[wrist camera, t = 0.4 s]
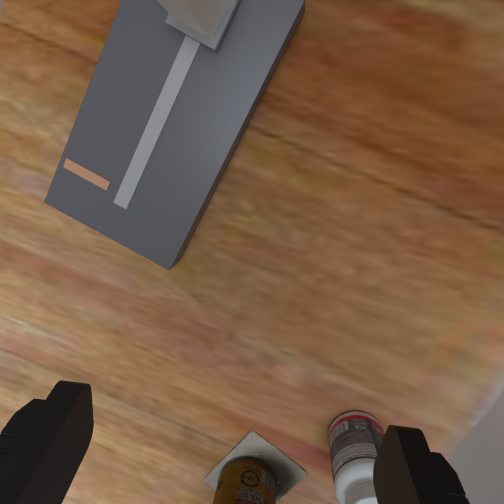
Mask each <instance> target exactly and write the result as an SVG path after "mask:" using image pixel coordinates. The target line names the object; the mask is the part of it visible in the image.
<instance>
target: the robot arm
mask: <svg viewBox="0 0 504 504" xmlns="http://www.w3.org/2000/svg"><path fill="white" fill-rule="evenodd" d="M93 426H94V422H93V407H92V392H91V386H90V384H85V383H78V382H70V381H63V380H61V381H59V382H58V383H57V384H56V385H55V387H54V388H53V390H52V391H51V393H50V394H49V396H48V397H47V399H46V400H42V399H33V400H32V401H30V402H29V403H28V404H26V405H25V406H24V407H22V408H21V409H20V410H18V411H17V412H16V413H15V414H14V415H13V416H12V418H11V419H10V420H9V422H8V423H7V425H6V426H5V427H4V429H3V430H2V431H1V435H0V504H62V502H63V499H64V497H65V495H66V493H67V491H68V489H69V487H70V485H71V483H72V481H73V478H74V476H75V474H76V472H77V470H78V468H79V466H80V464H81V462H82V460H83V458H84V455H85V453H86V451H87V449H88V447H89V444H90V441H91V438H92V433H93ZM373 483H374V489H375V494H376V498H377V503H378V504H470V503H469V501H468V499H466V497H465V495H466V494H465V492H464V490H463V487H462V485H461V483H460V480H459V478H458V475H457V473H456V472H455V470H454V469H453V468H452V467H451V466H450V464H449V463H448V462H447V461H446V459H445V458H444V457H443V456H442V455H441V453H435V452H430V450H429V447H428V444H427V442H426V439H425V437H424V434H423V433H422V431H421V430H420V429H418V428H410V427H403V426H395V425H390V426H389V427H388V428H387V431H386V433H385V436H384V438H383V441H382V444H381V446H380V449H379V451H378V454H377V457H376V459H375V462H374V467H373Z"/></svg>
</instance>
